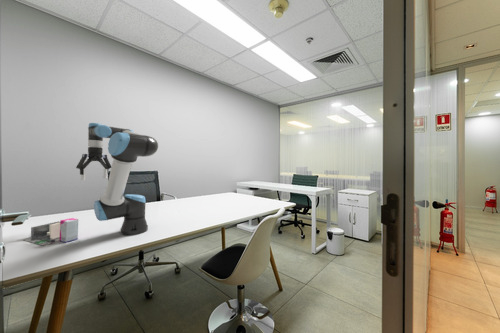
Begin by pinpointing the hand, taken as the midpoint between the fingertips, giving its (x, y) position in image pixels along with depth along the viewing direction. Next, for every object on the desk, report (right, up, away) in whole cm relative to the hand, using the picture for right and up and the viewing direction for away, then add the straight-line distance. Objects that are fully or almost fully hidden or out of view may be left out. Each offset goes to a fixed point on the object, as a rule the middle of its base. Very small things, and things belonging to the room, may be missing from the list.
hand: (94, 179), depth 130 cm
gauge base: (-9, -32, -19) cm, 38 cm away
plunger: (-9, -31, -20) cm, 39 cm away
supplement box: (+3, -33, -22) cm, 39 cm away
